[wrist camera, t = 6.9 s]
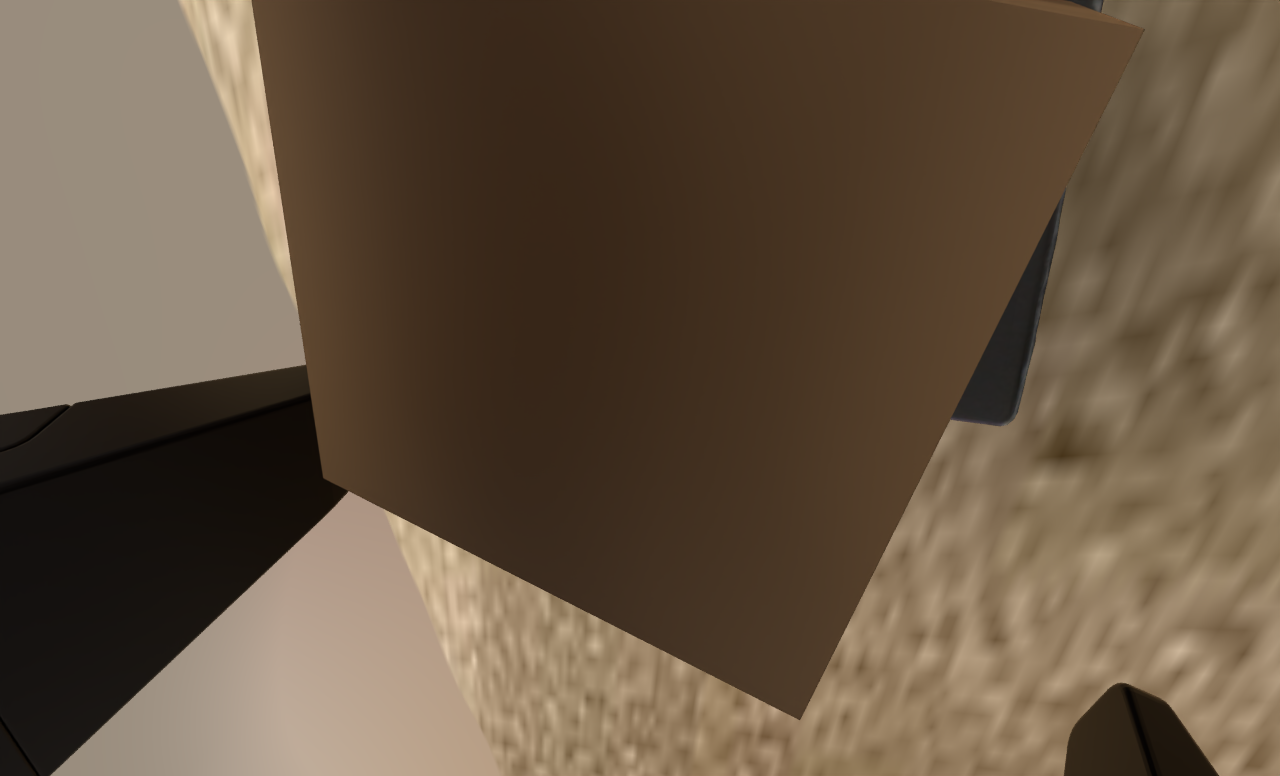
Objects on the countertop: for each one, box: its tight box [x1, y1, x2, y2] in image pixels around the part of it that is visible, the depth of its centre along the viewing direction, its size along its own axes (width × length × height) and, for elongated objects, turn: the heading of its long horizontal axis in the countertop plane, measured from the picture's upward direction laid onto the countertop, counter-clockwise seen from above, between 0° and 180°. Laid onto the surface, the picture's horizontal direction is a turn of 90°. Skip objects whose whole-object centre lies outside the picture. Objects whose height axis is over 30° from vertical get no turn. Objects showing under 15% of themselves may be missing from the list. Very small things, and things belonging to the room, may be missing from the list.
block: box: [252, 0, 1145, 720], centre depth 7 cm, size 5×5×5 cm
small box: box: [950, 0, 1103, 426], centre depth 14 cm, size 11×6×10 cm, turn 96°
